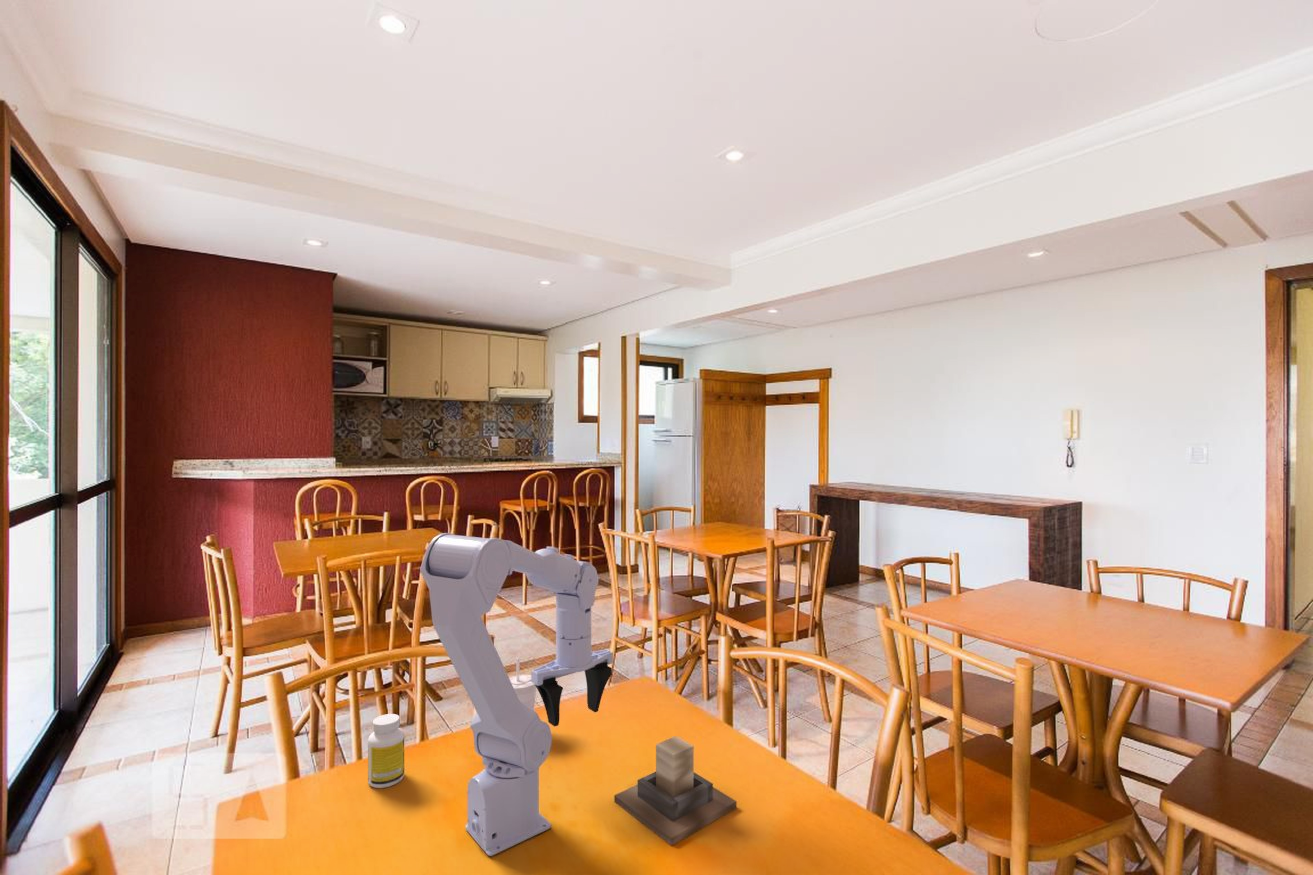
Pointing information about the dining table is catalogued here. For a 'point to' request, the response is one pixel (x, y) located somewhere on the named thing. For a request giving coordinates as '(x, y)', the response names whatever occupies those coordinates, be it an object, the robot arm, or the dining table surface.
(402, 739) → the supplement bottle
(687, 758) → the square peg
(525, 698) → the smoothie
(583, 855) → the dining table surface
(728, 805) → the socket block
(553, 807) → the dining table surface
